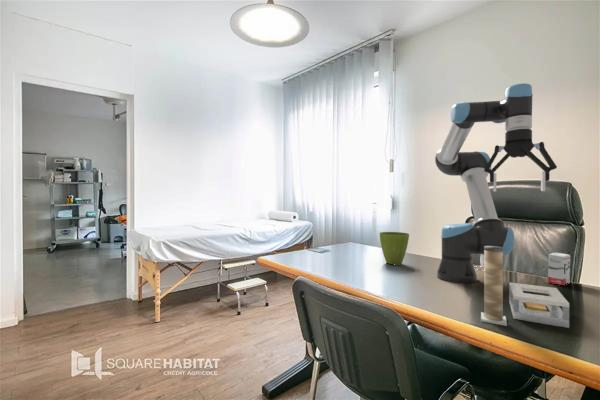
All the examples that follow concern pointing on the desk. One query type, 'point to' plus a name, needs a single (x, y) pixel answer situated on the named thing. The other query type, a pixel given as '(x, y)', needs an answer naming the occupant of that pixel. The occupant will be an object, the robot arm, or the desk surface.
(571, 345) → the desk surface
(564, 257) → the ink box
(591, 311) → the desk surface
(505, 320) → the rest pad
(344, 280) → the desk surface
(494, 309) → the tan wooden bar
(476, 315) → the desk surface
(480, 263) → the figurine
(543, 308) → the breaker button
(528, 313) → the grey slotted box
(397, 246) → the flower pot
